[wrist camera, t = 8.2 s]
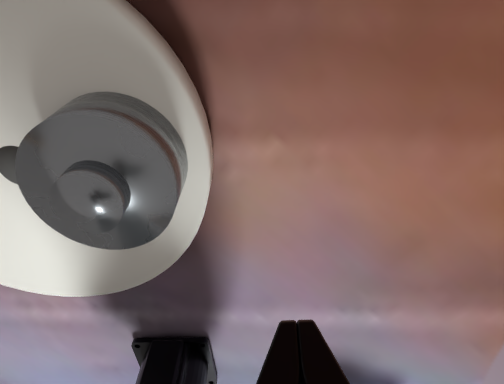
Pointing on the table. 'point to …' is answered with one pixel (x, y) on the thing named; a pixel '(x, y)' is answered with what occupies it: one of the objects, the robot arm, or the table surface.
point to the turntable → (59, 94)
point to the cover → (103, 171)
